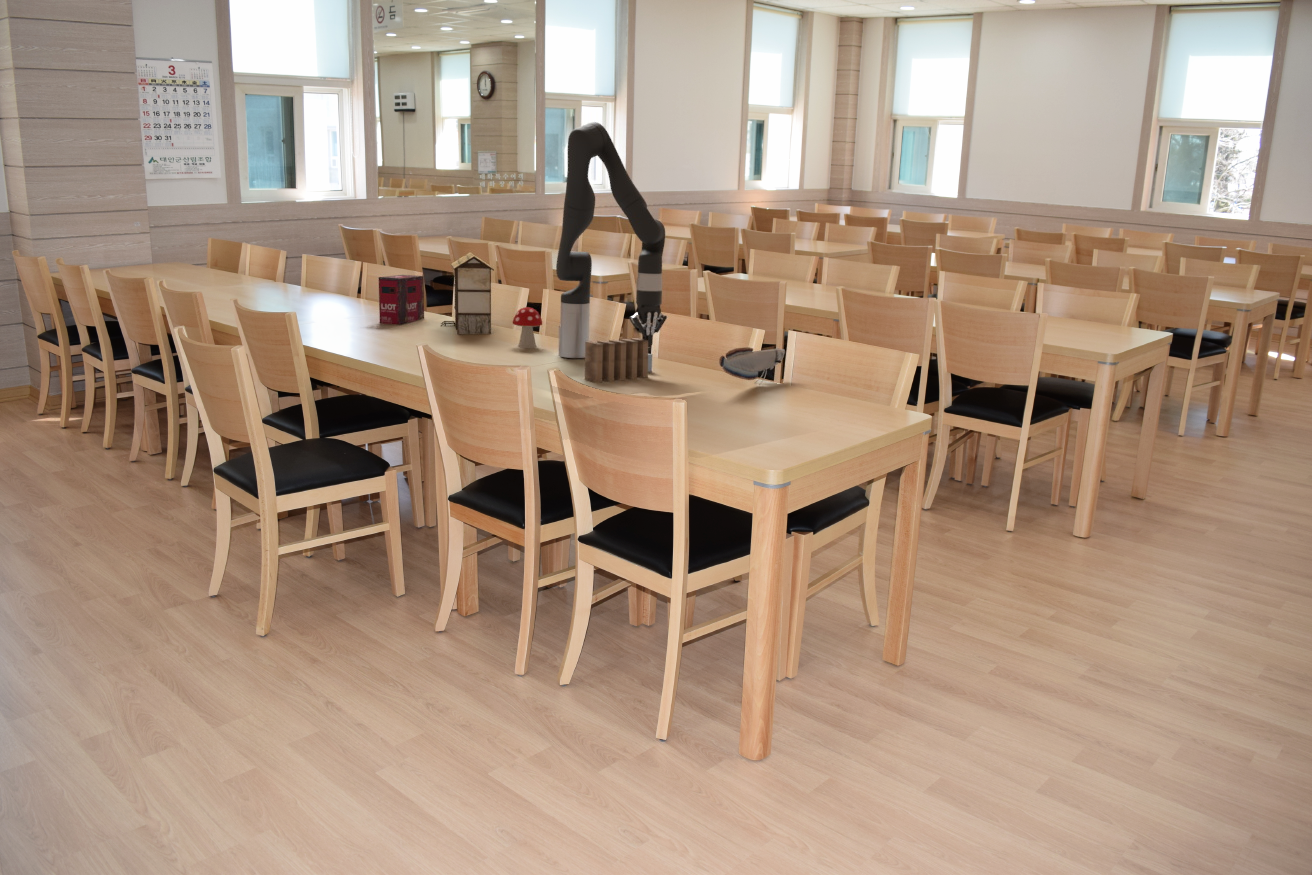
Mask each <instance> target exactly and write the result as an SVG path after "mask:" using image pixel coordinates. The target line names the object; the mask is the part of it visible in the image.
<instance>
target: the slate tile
mask: <svg viewBox="0 0 1312 875" xmlns="http://www.w3.org/2000/svg"><path fill="white" fill-rule="evenodd" d="M652 370H653V354H651V353H648V373H650V372H652Z"/></svg>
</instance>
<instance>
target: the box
mask: <svg viewBox="0 0 1312 875" xmlns="http://www.w3.org/2000/svg"><path fill="white" fill-rule="evenodd" d="M424 280H425V279H424V276H423V275H412V274H411V275H410V274H397V275H388V276H386V275H385V276H378V304H379V305H378V306H379V307H378V309H379V312H378V313H379V324H384V325H385V324H386V325H396V326H398V325H399V326H402V325H406V324H409V323H413V322H416V321H419V320H424V319H425V289H424V288H425V287H424V286H425V284H424V283H425V282H424Z"/></svg>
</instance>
